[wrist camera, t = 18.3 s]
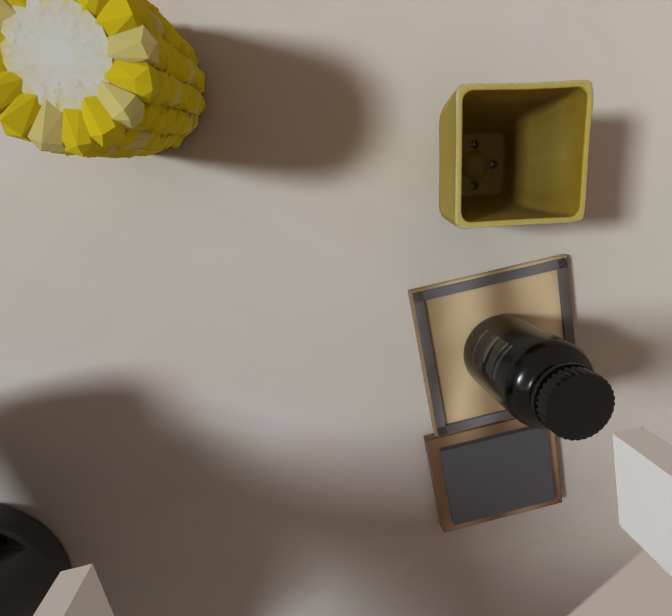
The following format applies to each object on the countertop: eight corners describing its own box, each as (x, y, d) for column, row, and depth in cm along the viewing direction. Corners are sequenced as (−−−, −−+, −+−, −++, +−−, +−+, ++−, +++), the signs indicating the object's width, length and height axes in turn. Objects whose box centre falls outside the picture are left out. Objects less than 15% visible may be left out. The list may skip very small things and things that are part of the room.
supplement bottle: (484, 399, 42) (557, 475, 31) (447, 341, 41) (509, 397, 29) (548, 357, 42) (646, 418, 30) (513, 297, 40) (603, 336, 29)
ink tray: (440, 525, 46) (443, 532, 45) (423, 436, 43) (426, 441, 42) (556, 495, 46) (562, 502, 45) (546, 405, 44) (552, 410, 43)
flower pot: (418, 223, 39) (455, 229, 30) (418, 111, 37) (457, 83, 28) (520, 217, 39) (585, 222, 31) (524, 107, 37) (595, 78, 29)
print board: (433, 433, 43) (436, 438, 42) (407, 290, 40) (410, 292, 39) (576, 398, 44) (582, 402, 43) (562, 254, 40) (568, 255, 40)
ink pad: (452, 521, 44) (454, 525, 44) (438, 448, 42) (440, 451, 42) (551, 495, 45) (554, 499, 44) (542, 422, 43) (546, 425, 42)
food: (216, 46, 36) (190, 176, 38) (42, -20, 31) (25, 132, 34) (235, -16, 22) (193, 195, 24) (-69, -146, 18) (-83, 124, 20)
